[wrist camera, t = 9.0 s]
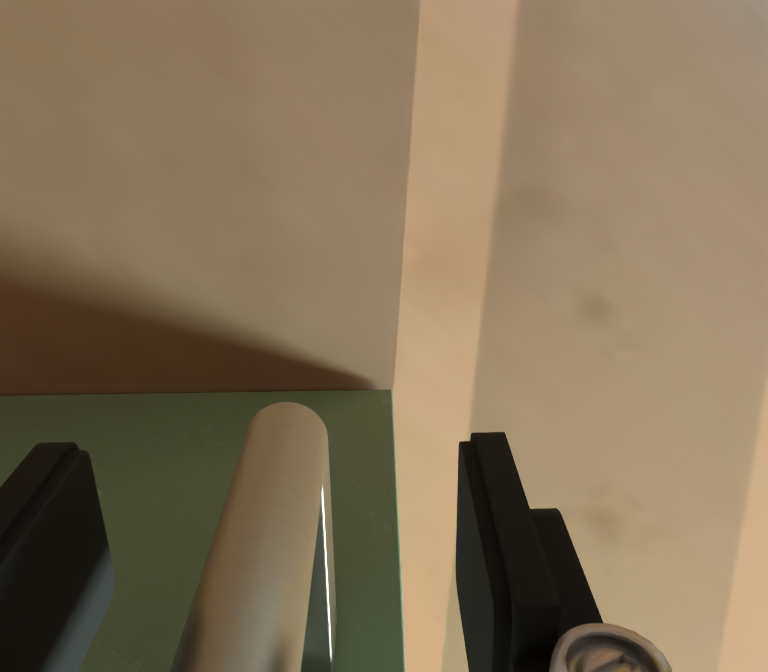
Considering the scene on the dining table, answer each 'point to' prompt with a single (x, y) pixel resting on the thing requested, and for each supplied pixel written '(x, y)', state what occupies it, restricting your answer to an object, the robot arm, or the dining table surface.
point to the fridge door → (237, 526)
